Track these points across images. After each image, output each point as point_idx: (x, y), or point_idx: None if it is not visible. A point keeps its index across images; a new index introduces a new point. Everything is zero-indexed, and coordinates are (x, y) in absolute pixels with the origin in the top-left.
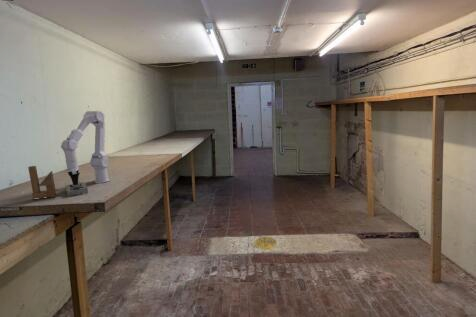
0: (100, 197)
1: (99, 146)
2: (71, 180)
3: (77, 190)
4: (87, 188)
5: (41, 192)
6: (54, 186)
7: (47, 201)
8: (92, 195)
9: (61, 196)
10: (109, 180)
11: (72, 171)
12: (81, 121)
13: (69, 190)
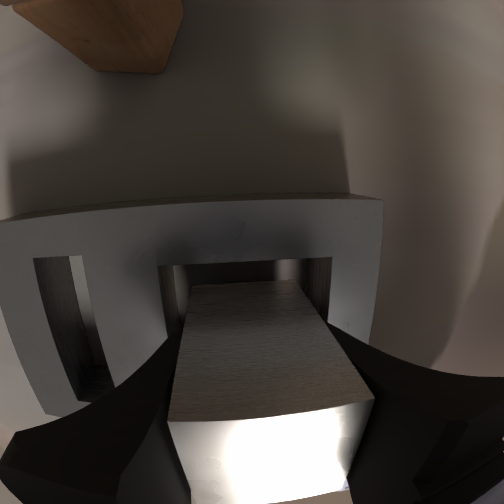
0: None
1: None
2: (216, 358)
3: (13, 328)
4: (47, 410)
5: None
6: (96, 20)
7: (16, 41)
8: (4, 384)
9: (78, 137)
10: (341, 490)
11: None
12: None
13: (12, 249)
